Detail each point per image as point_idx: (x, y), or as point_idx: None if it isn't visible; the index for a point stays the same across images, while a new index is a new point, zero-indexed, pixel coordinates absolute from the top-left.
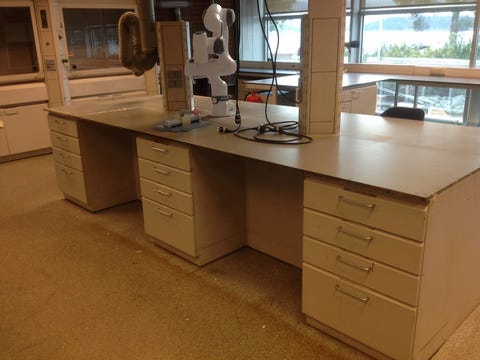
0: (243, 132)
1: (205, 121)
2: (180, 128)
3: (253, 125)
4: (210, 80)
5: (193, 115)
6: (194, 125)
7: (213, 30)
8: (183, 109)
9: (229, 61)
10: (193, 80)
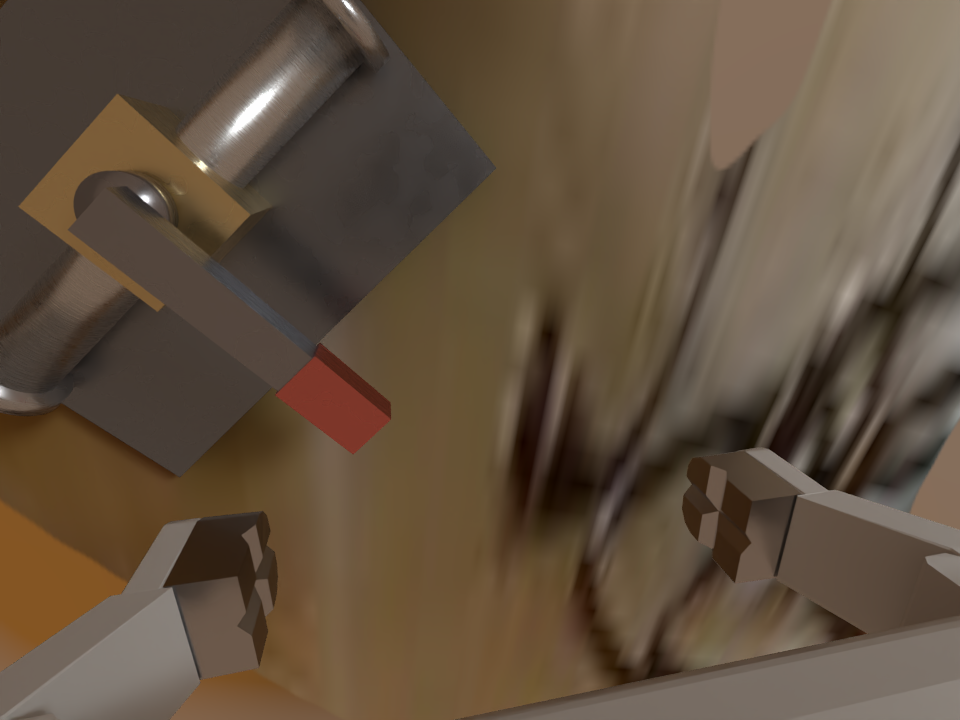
0: (646, 519)
1: (437, 113)
2: (194, 421)
3: (786, 312)
4: (785, 568)
5: (291, 58)
6: (320, 312)
7: None
8: (129, 222)
9: None
10: (169, 699)
